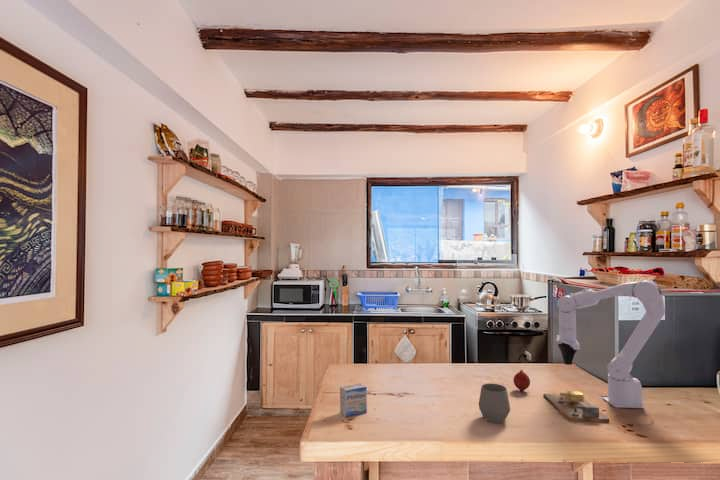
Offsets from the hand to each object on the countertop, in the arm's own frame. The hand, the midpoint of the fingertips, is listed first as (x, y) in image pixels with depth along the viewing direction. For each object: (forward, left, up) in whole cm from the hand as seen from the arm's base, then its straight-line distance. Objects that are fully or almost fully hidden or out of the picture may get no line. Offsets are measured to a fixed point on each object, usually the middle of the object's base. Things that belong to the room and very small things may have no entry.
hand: (567, 364), depth 146 cm
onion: (+17, 0, -11) cm, 20 cm away
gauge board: (+5, +15, -10) cm, 19 cm away
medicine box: (+79, +23, -11) cm, 83 cm away
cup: (+34, +25, -11) cm, 44 cm away
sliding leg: (+5, +13, -9) cm, 16 cm away
